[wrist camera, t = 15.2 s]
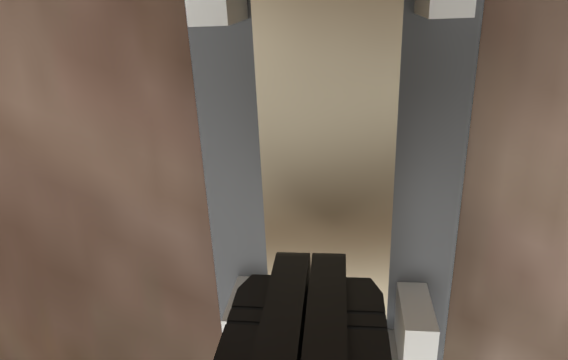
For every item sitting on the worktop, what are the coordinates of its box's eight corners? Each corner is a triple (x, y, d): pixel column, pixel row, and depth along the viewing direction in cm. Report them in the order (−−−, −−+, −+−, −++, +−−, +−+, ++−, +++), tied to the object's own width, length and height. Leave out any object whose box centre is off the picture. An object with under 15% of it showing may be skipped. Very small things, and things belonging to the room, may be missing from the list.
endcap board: (181, -112, 16) (131, -142, 12) (491, -135, 14) (540, -176, 11) (228, 335, 23) (206, 401, 19) (438, 346, 22) (457, 420, 18)
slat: (276, -43, 15) (247, -55, 11) (388, -49, 15) (407, -64, 10) (290, 306, 21) (275, 398, 16) (373, 310, 20) (381, 406, 16)
